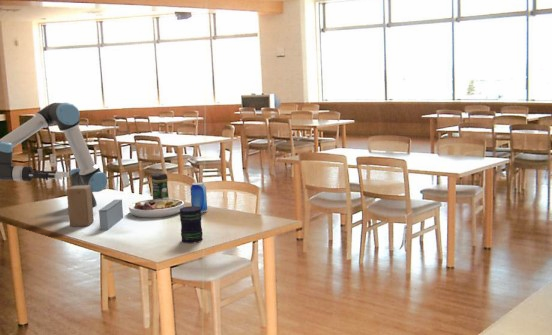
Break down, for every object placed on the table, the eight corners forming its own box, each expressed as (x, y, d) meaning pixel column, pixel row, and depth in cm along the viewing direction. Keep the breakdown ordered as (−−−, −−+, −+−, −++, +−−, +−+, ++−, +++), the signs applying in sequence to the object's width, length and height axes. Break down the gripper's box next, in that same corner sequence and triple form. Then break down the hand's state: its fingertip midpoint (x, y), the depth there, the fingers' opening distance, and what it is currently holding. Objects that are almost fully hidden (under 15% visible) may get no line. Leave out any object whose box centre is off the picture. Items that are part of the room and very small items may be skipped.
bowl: (142, 206, 382) (141, 193, 381) (191, 207, 376) (190, 193, 375) (120, 219, 353) (119, 204, 352) (173, 219, 347) (172, 205, 346)
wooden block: (88, 226, 338) (85, 188, 335) (69, 227, 338) (65, 188, 335) (94, 221, 348) (91, 184, 345) (75, 222, 348) (72, 185, 345)
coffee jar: (150, 204, 388) (148, 173, 385) (162, 201, 394) (160, 171, 391) (160, 206, 381) (158, 174, 379) (171, 203, 387) (169, 172, 384)
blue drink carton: (189, 213, 360) (187, 184, 357) (196, 209, 367) (195, 181, 365) (202, 214, 357) (201, 185, 354) (210, 210, 364) (208, 182, 362)
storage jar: (202, 242, 299) (200, 210, 296) (180, 243, 298) (178, 211, 296) (203, 236, 309) (201, 205, 306) (182, 238, 308) (180, 206, 306)
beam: (115, 218, 355) (114, 199, 353) (123, 217, 354) (121, 199, 353) (100, 230, 329) (98, 210, 328) (108, 229, 329) (106, 210, 327)
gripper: (30, 178, 352) (70, 180, 353) (15, 183, 327) (58, 185, 329) (30, 164, 352) (71, 166, 353) (15, 168, 327) (58, 170, 328)
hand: (65, 175), depth 341 cm, fingers open, 13 cm apart
